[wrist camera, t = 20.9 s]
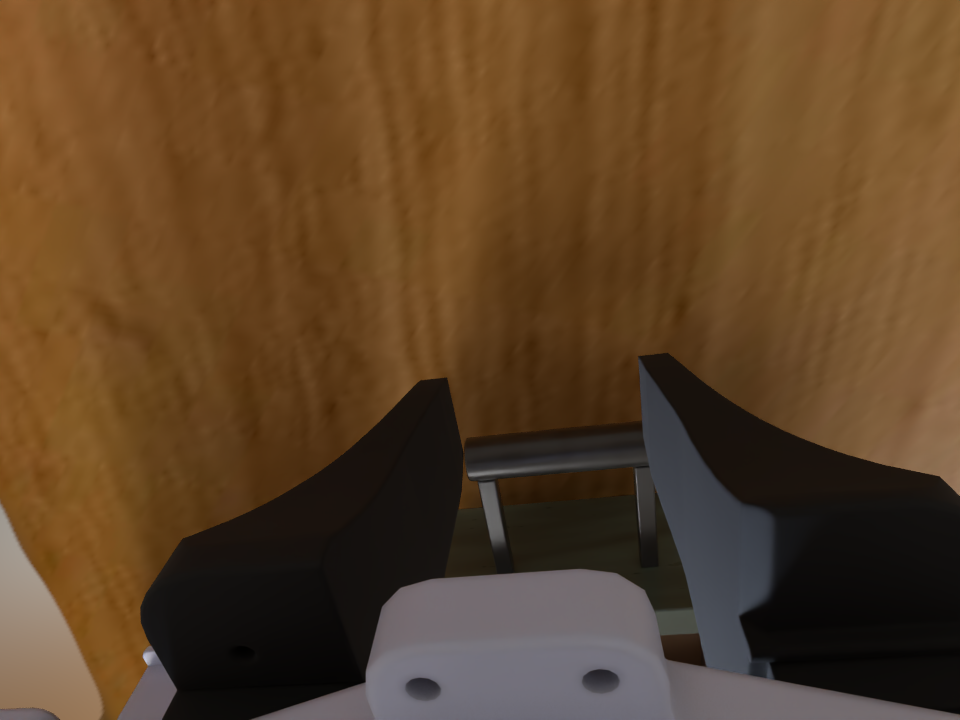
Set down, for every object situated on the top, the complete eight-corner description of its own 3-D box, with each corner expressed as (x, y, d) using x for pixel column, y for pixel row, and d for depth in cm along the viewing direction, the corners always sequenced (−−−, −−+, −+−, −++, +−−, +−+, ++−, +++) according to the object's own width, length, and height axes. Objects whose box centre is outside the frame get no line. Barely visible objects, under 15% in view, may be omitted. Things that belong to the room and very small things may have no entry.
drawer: (391, 393, 24) (355, 493, 19) (730, 356, 23) (787, 454, 18) (480, 727, 33) (471, 853, 28) (726, 719, 32) (762, 851, 27)
